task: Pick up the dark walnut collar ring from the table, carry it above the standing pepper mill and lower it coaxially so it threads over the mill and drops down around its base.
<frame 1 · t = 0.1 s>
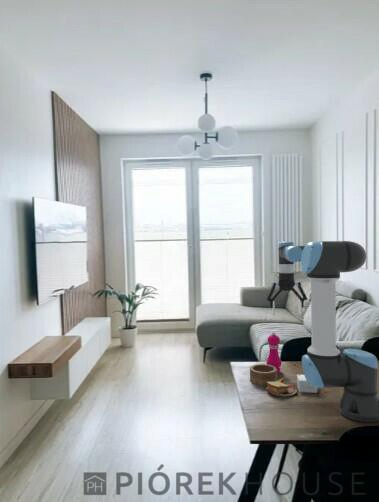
hand: (286, 314, 187), 28 cm above the table, fingers open, 13 cm apart
collar: (263, 381, 172), on the table
small box: (307, 389, 163), on the table
toy sandwich meal: (281, 392, 160), on the table
pepper mill: (274, 372, 185), on the table
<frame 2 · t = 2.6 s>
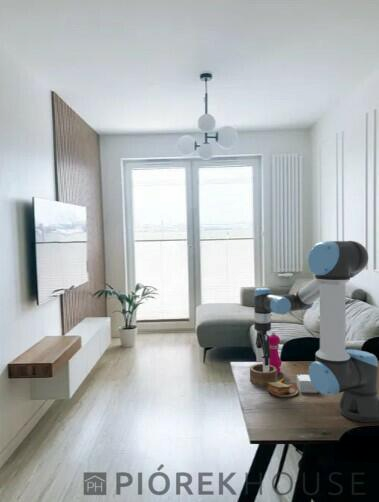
hand: (262, 366, 173), 7 cm above the table, fingers open, 13 cm apart
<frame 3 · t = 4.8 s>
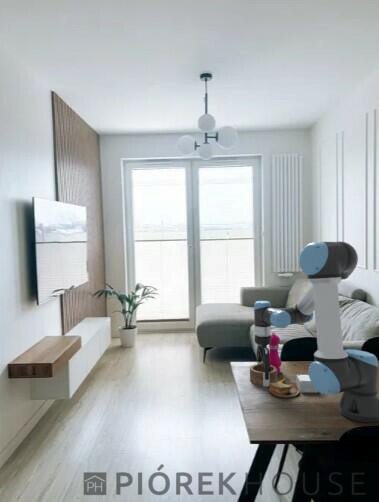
hand: (263, 380, 172), 0 cm above the table, fingers closed on collar, 12 cm apart
collar: (263, 381, 172), on the table, touching gripper
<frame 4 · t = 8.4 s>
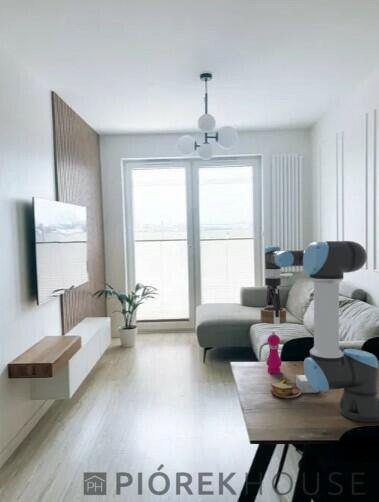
hand: (273, 320, 184), 25 cm above the table, fingers closed on collar, 12 cm apart
collar: (273, 321, 184), point 25 cm above the table, touching gripper
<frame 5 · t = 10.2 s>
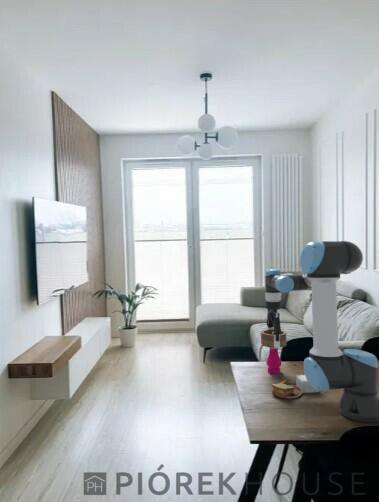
hand: (273, 343, 184), 14 cm above the table, fingers closed on collar, 12 cm apart
collar: (273, 344, 184), point 14 cm above the table, touching gripper
when the fingers open (12 cm above the table, at t = 11.7 s): collar drops 12 cm, on the table.
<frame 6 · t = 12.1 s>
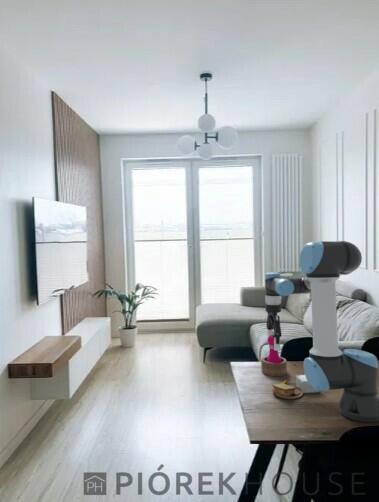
hand: (273, 346, 184), 13 cm above the table, fingers open, 13 cm apart
collar: (274, 371, 185), on the table
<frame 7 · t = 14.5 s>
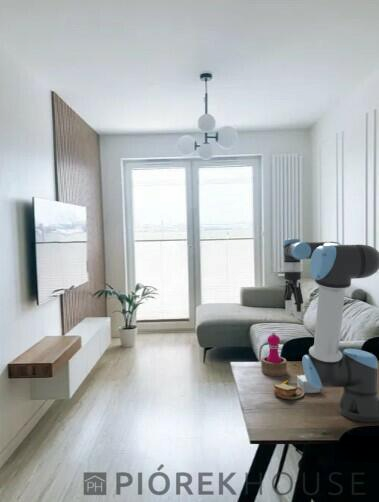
hand: (293, 316, 176), 29 cm above the table, fingers open, 13 cm apart
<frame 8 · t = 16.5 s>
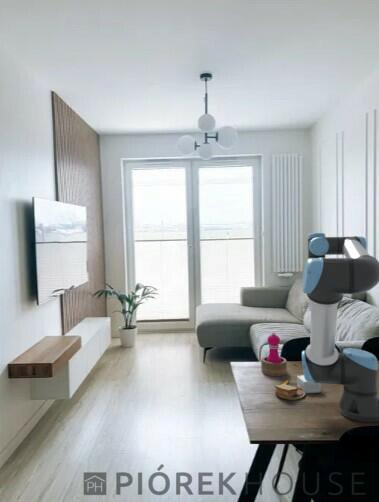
hand: (317, 313, 168), 32 cm above the table, fingers open, 13 cm apart
at the end: collar 0.1 cm from the pepper mill (horizontally); collar on the table; pepper mill tilted 0° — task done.
